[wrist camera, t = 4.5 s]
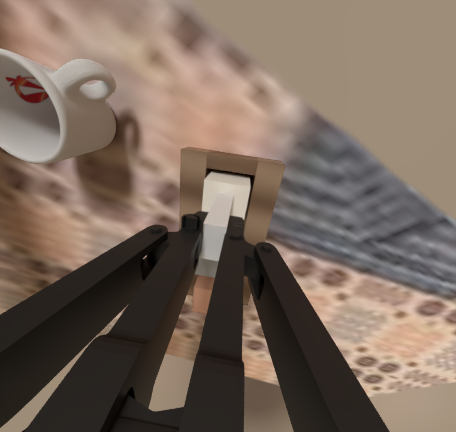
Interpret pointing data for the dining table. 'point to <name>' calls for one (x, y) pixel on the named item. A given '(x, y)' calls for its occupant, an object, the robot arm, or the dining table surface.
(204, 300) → the terracotta key
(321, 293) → the dining table surface
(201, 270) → the slate key
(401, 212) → the dining table surface
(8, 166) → the dining table surface
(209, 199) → the cream key
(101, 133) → the cup
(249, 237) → the key block
